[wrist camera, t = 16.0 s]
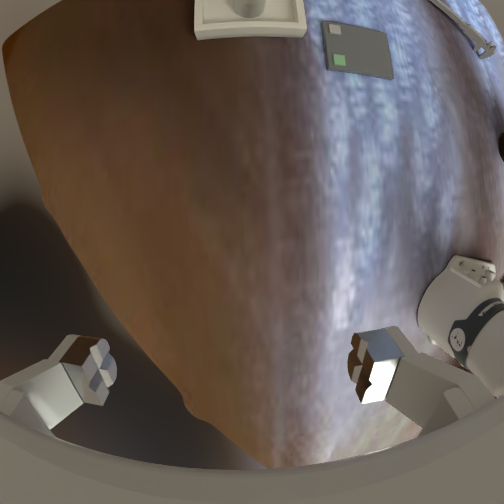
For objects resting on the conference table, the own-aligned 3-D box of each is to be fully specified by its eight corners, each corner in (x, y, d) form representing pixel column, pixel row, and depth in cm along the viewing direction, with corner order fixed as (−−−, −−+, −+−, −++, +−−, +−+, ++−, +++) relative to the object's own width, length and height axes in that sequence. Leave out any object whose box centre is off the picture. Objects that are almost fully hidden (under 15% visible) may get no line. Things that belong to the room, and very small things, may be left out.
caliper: (480, 57, 27) (500, 52, 21) (479, 59, 27) (499, 54, 21) (406, -20, 22) (422, -33, 17) (404, -18, 23) (420, -32, 17)
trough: (295, -12, 25) (299, -22, 22) (302, 38, 28) (307, 29, 25) (198, -10, 24) (195, -20, 22) (197, 40, 28) (194, 31, 25)
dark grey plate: (383, 35, 27) (387, 32, 26) (390, 80, 30) (395, 78, 29) (321, 23, 27) (323, 19, 26) (327, 70, 30) (330, 67, 28)
